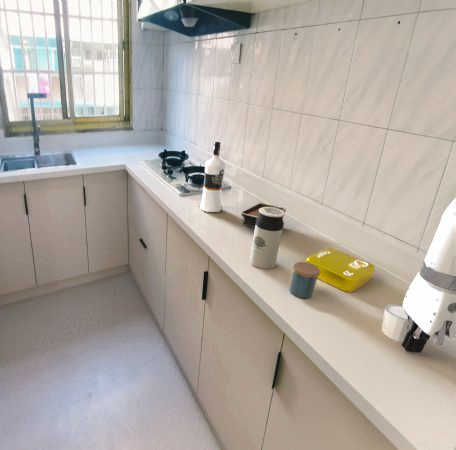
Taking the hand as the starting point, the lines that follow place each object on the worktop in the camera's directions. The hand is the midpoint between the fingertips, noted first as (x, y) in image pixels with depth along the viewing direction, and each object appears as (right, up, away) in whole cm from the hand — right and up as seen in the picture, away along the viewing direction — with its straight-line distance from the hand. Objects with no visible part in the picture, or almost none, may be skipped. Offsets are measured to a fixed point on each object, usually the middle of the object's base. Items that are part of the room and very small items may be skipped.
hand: (411, 349), depth 72 cm
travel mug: (-20, +14, +37) cm, 44 cm away
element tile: (+1, +11, +32) cm, 34 cm away
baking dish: (-12, +26, +63) cm, 69 cm away
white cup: (+1, 0, +6) cm, 6 cm away
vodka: (-30, +33, +79) cm, 91 cm away
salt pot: (-14, +8, +22) cm, 27 cm away
